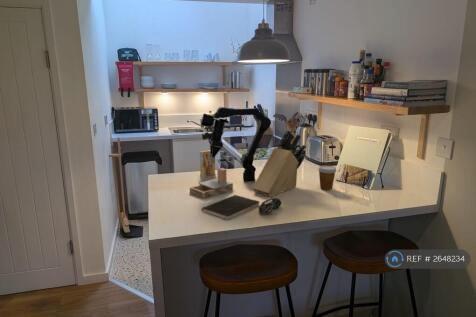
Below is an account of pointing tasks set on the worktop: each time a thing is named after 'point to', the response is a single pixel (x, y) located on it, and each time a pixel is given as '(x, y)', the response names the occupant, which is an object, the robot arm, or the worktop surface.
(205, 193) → the oak box
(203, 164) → the candy box
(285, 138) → the knife block
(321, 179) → the disposable coffee cup
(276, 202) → the stun grenade
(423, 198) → the worktop surface
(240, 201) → the hardcover book
